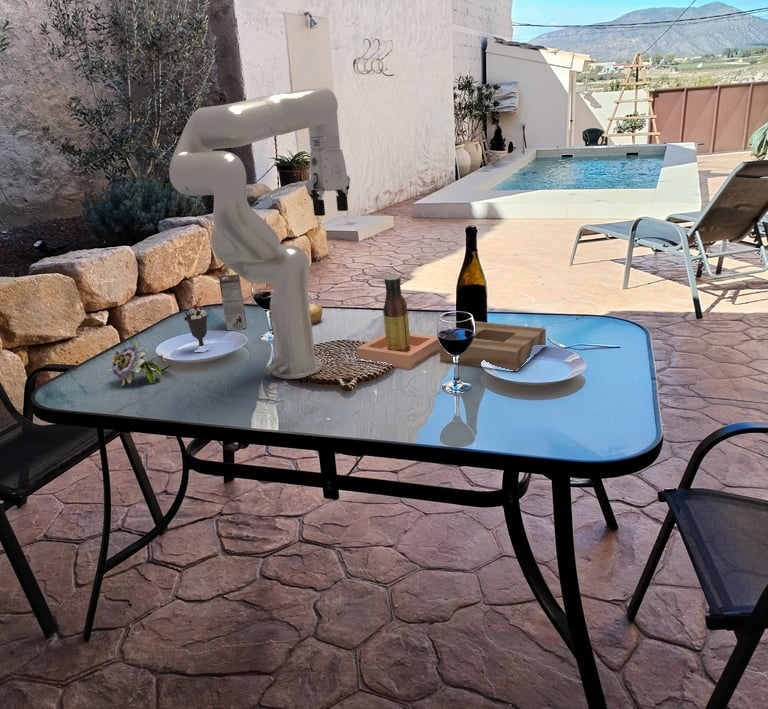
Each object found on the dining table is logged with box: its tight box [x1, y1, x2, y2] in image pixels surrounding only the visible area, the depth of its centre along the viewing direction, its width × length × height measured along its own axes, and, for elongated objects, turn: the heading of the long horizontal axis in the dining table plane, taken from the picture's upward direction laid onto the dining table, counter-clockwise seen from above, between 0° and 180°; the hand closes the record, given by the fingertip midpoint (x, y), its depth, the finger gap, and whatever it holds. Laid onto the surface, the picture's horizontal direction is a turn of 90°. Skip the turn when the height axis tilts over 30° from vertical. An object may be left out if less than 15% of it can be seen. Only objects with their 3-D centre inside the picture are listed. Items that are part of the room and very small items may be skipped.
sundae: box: [184, 297, 209, 347], centre depth 177 cm, size 7×7×15 cm
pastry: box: [308, 294, 323, 326], centre depth 198 cm, size 12×12×9 cm
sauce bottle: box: [382, 275, 411, 352], centre depth 159 cm, size 7×6×20 cm
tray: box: [355, 332, 440, 370], centre depth 162 cm, size 16×16×4 cm
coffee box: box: [218, 274, 248, 331], centre depth 198 cm, size 9×6×16 cm
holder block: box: [439, 320, 547, 371], centre depth 158 cm, size 20×20×5 cm
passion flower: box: [108, 341, 167, 387], centre depth 157 cm, size 11×11×12 cm
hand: (331, 213), depth 163 cm, fingers open, 9 cm apart
